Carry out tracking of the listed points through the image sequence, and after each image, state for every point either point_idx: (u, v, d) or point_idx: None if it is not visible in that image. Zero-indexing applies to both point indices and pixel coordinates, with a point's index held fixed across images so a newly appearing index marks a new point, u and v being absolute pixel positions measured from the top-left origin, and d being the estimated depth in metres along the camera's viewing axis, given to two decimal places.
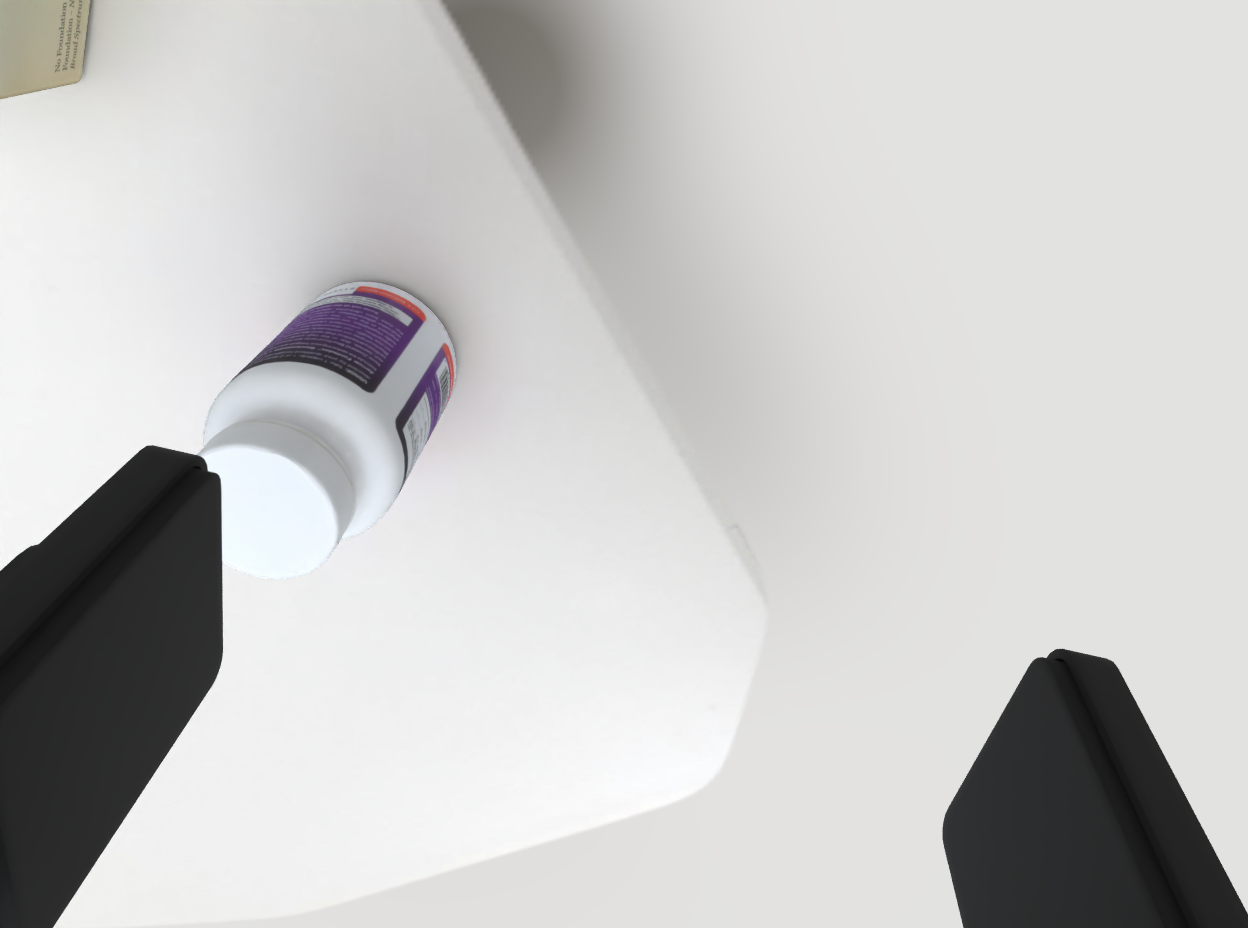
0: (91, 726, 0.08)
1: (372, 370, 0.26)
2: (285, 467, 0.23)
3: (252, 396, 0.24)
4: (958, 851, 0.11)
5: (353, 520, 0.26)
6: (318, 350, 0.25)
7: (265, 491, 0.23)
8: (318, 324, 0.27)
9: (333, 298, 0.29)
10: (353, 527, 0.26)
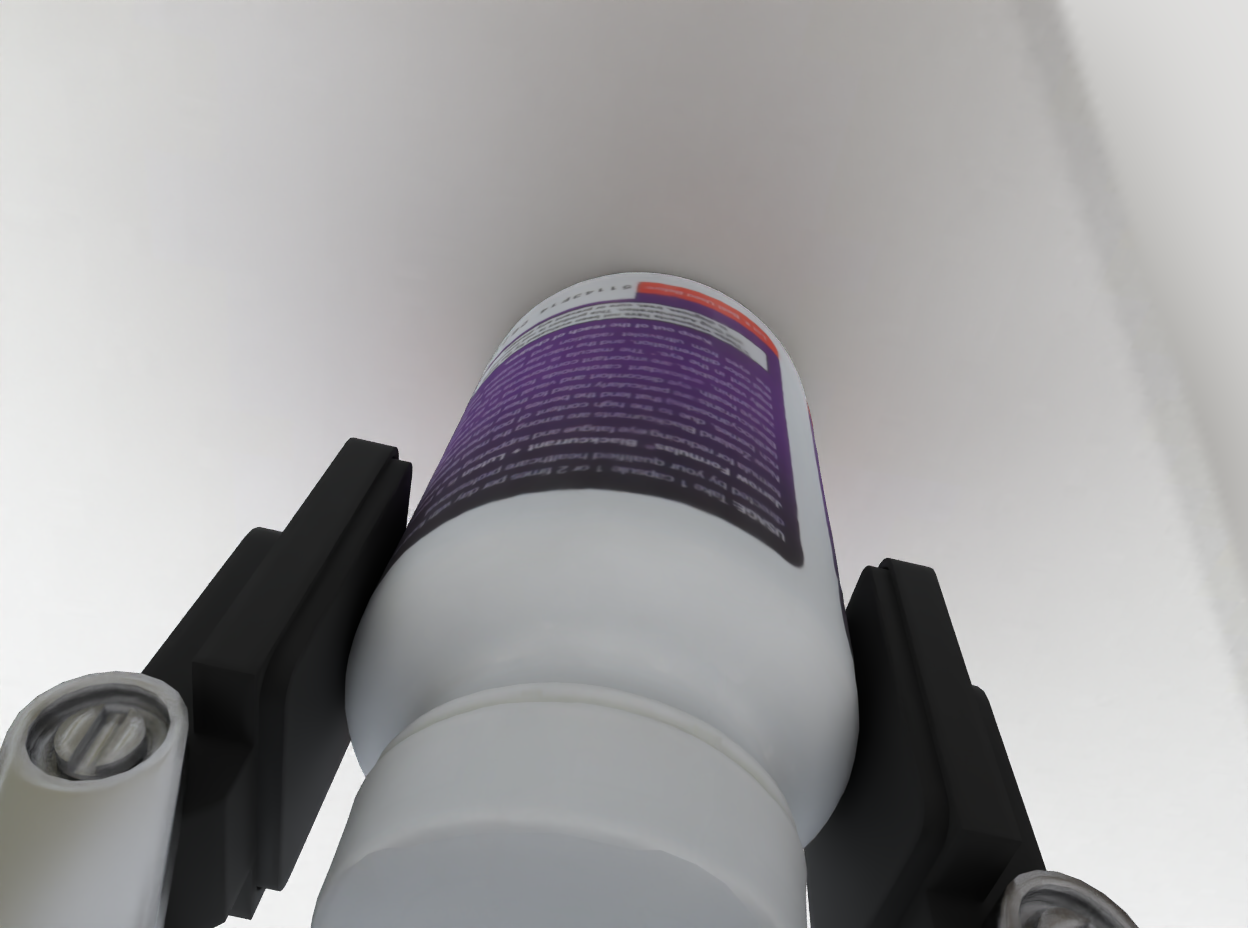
0: (330, 689, 0.09)
1: (776, 497, 0.10)
2: (680, 887, 0.07)
3: (507, 599, 0.08)
4: None
5: None
6: (648, 451, 0.10)
7: None
8: (604, 373, 0.11)
9: (597, 309, 0.13)
10: None
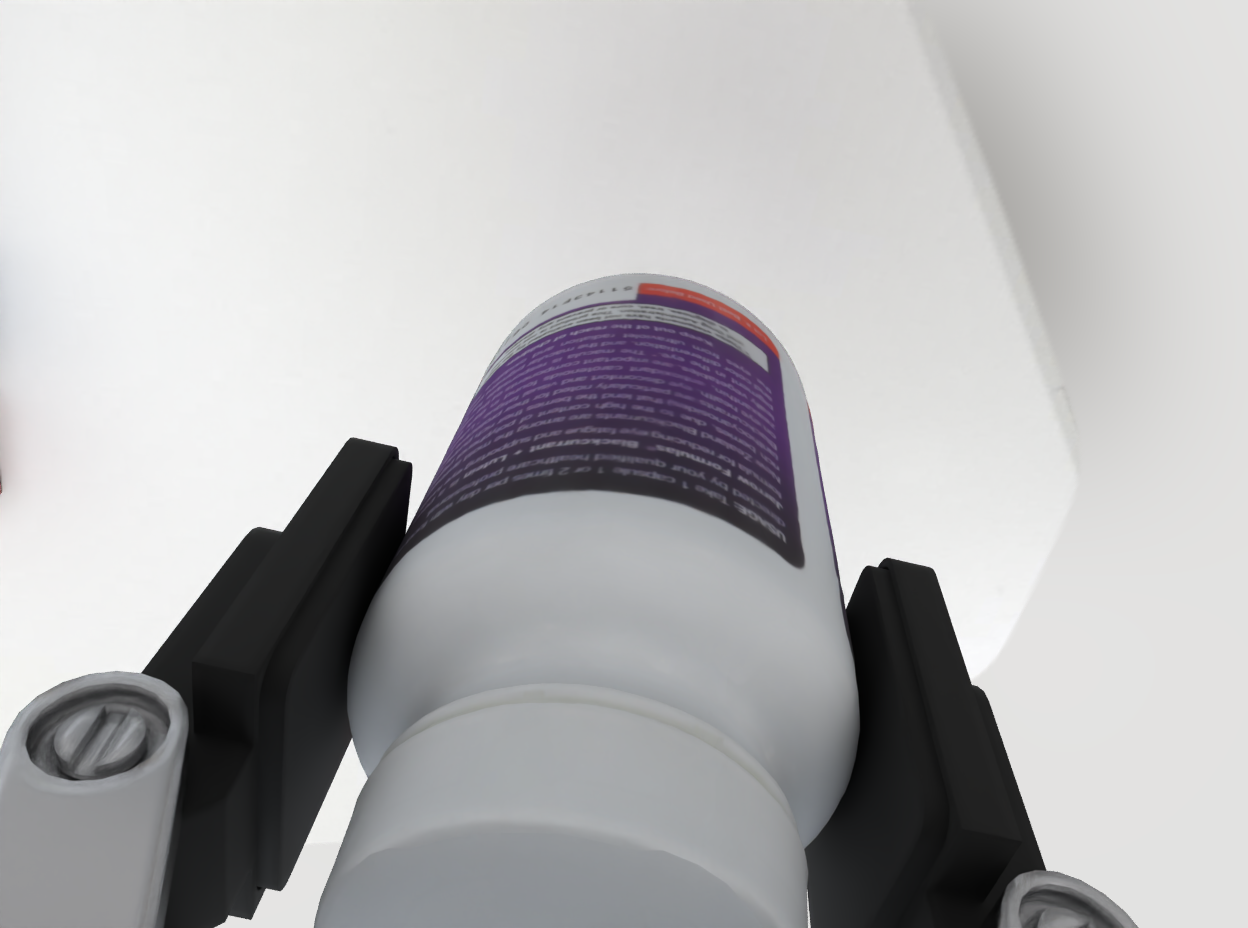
0: (329, 689, 0.09)
1: (777, 498, 0.10)
2: (682, 888, 0.07)
3: (510, 600, 0.08)
4: None
5: None
6: (649, 453, 0.10)
7: None
8: (606, 374, 0.11)
9: (598, 310, 0.13)
10: None
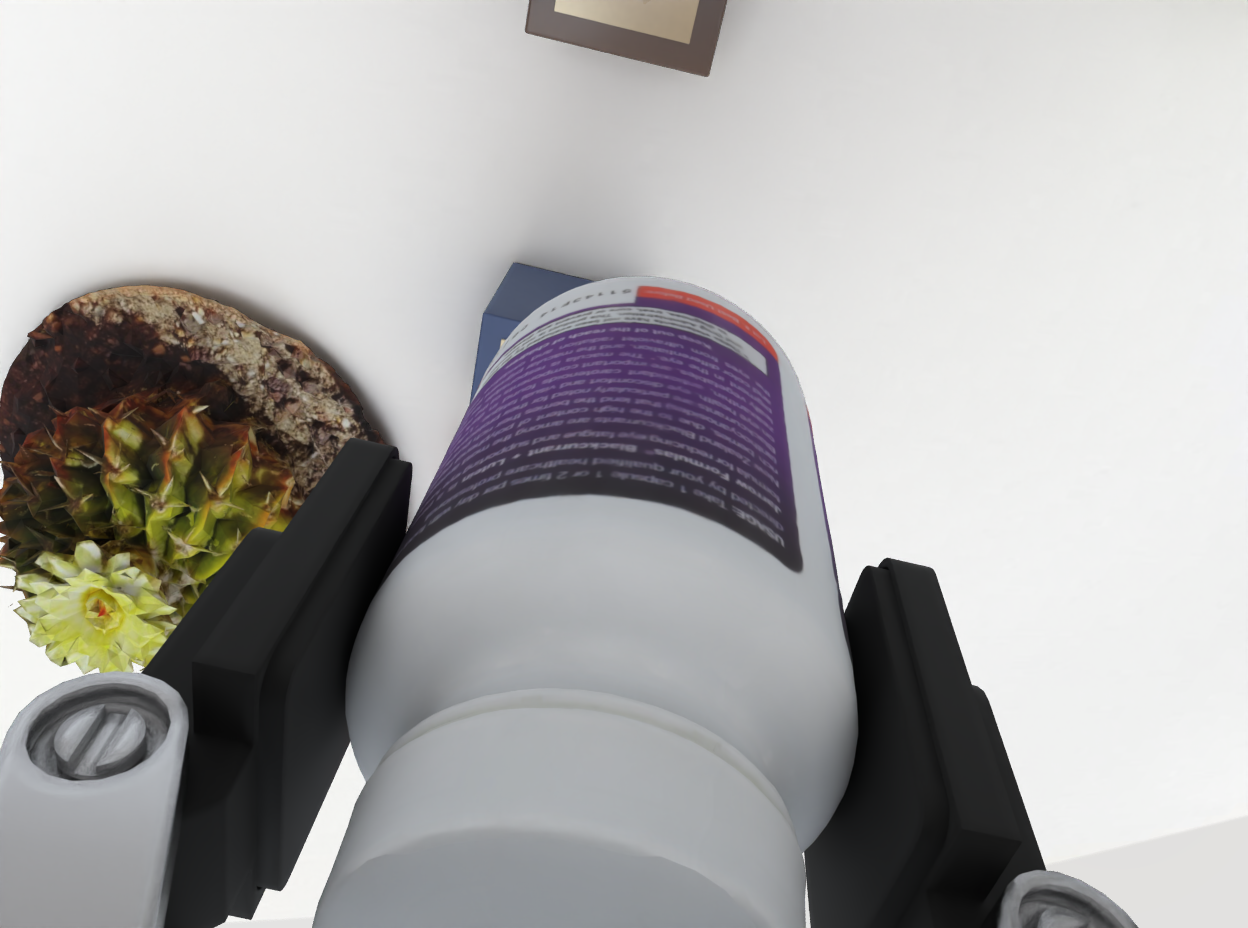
0: (330, 689, 0.09)
1: (776, 502, 0.10)
2: (679, 892, 0.07)
3: (507, 604, 0.08)
4: None
5: None
6: (648, 456, 0.10)
7: None
8: (604, 378, 0.11)
9: (597, 313, 0.13)
10: None
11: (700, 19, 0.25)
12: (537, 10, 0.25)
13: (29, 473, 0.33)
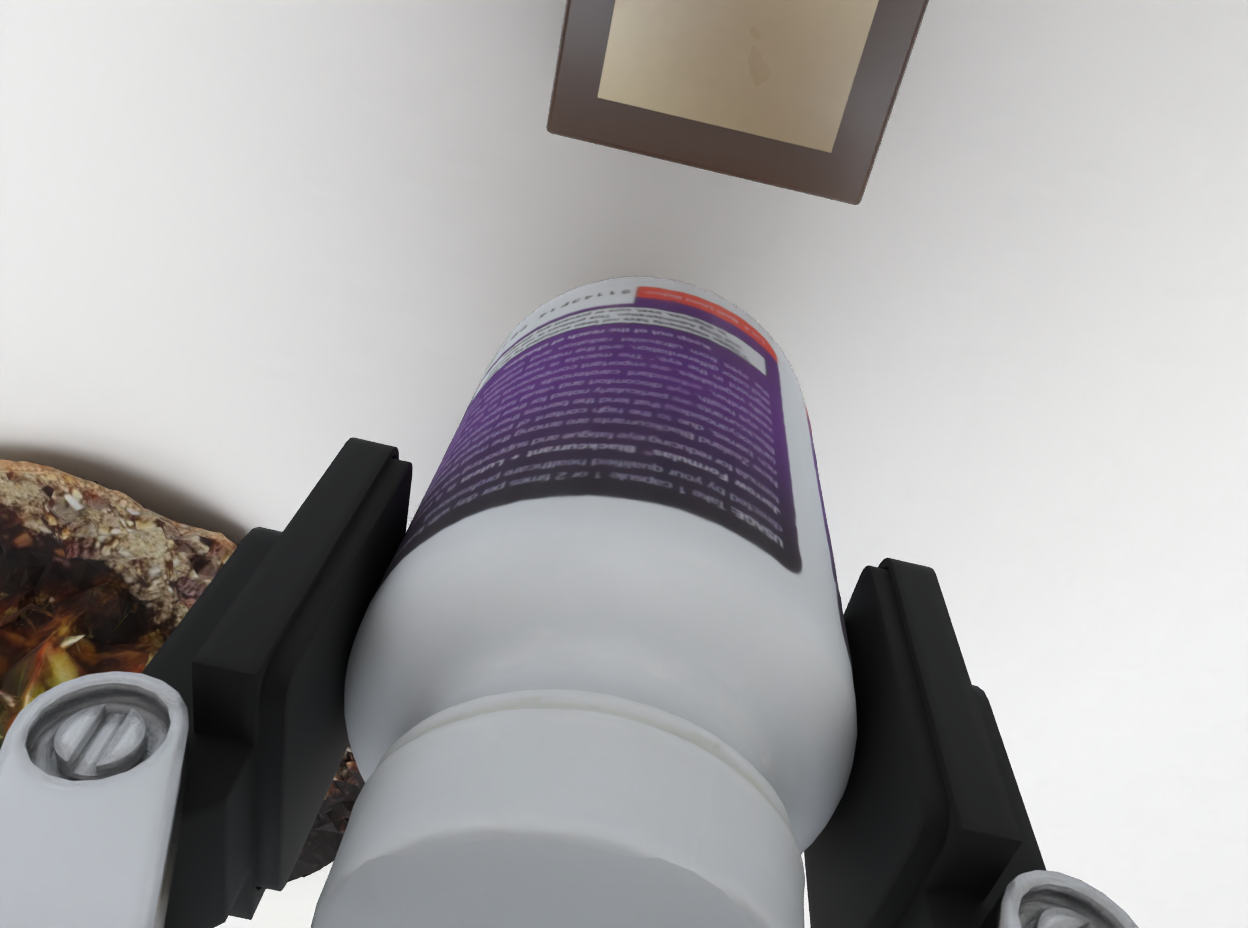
0: (330, 689, 0.09)
1: (774, 503, 0.10)
2: (677, 894, 0.07)
3: (506, 606, 0.08)
4: None
5: None
6: (647, 457, 0.10)
7: None
8: (603, 379, 0.11)
9: (596, 313, 0.13)
10: None
11: (853, 111, 0.14)
12: (568, 95, 0.14)
13: None
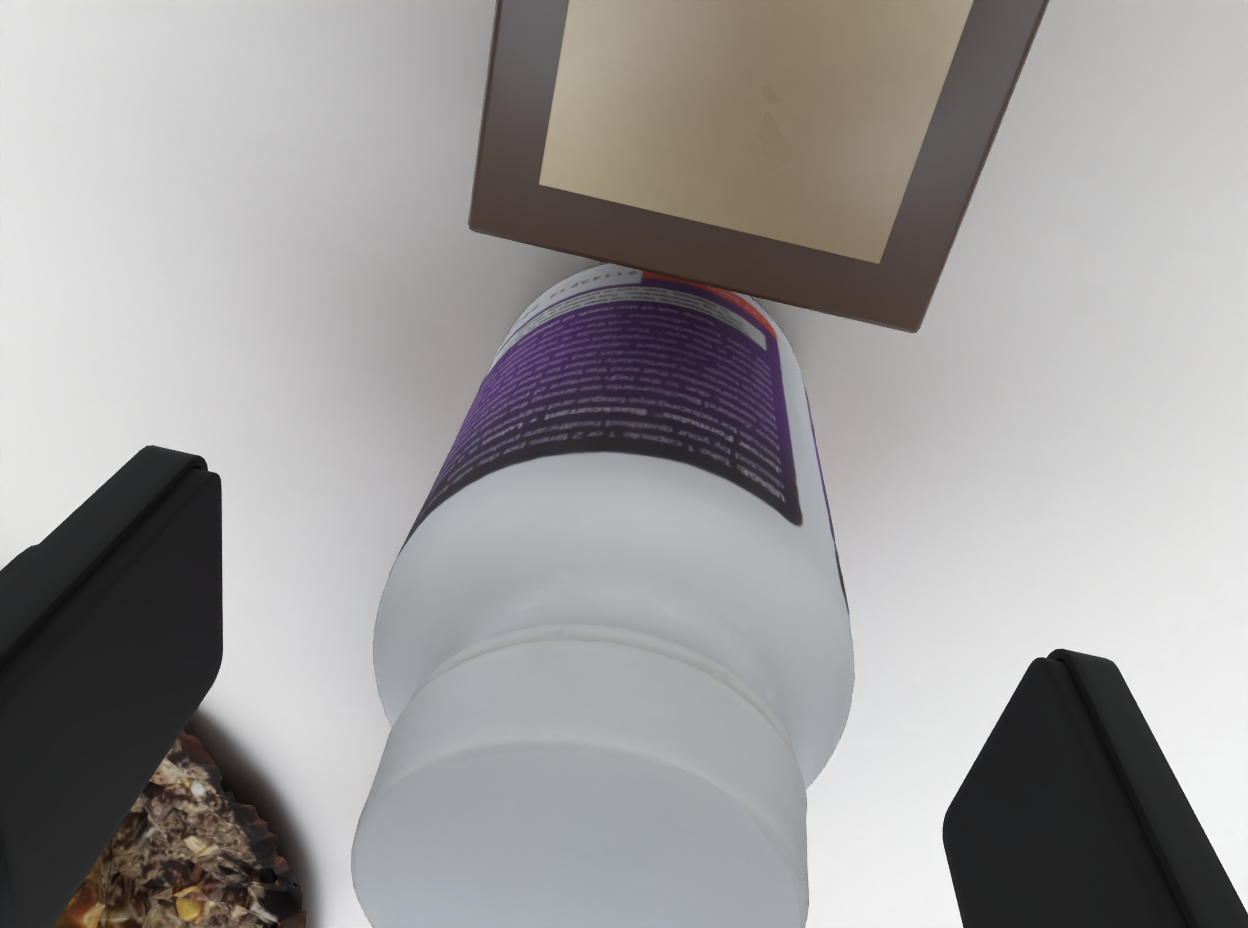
0: (91, 726, 0.08)
1: (776, 464, 0.11)
2: (692, 801, 0.07)
3: (529, 552, 0.09)
4: (958, 851, 0.11)
5: None
6: (657, 420, 0.10)
7: (612, 855, 0.08)
8: (614, 349, 0.12)
9: (604, 292, 0.14)
10: None
11: (913, 206, 0.10)
12: (497, 181, 0.10)
13: None
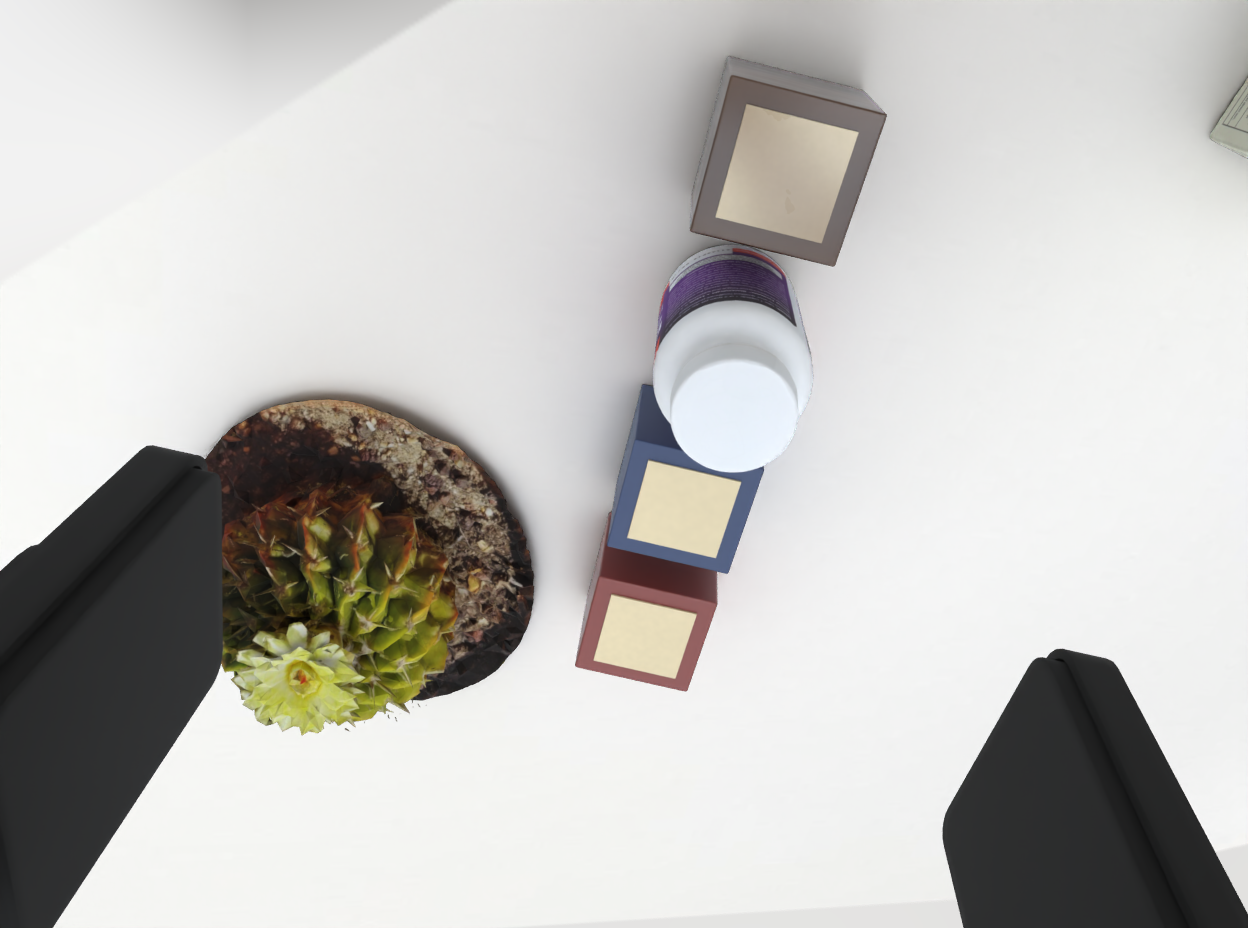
0: (91, 726, 0.08)
1: (788, 310, 0.32)
2: (768, 378, 0.29)
3: (716, 326, 0.31)
4: (958, 851, 0.11)
5: None
6: (750, 293, 0.32)
7: (746, 397, 0.29)
8: (729, 275, 0.33)
9: (719, 256, 0.35)
10: None
11: (831, 225, 0.31)
12: (701, 215, 0.31)
13: (235, 561, 0.39)
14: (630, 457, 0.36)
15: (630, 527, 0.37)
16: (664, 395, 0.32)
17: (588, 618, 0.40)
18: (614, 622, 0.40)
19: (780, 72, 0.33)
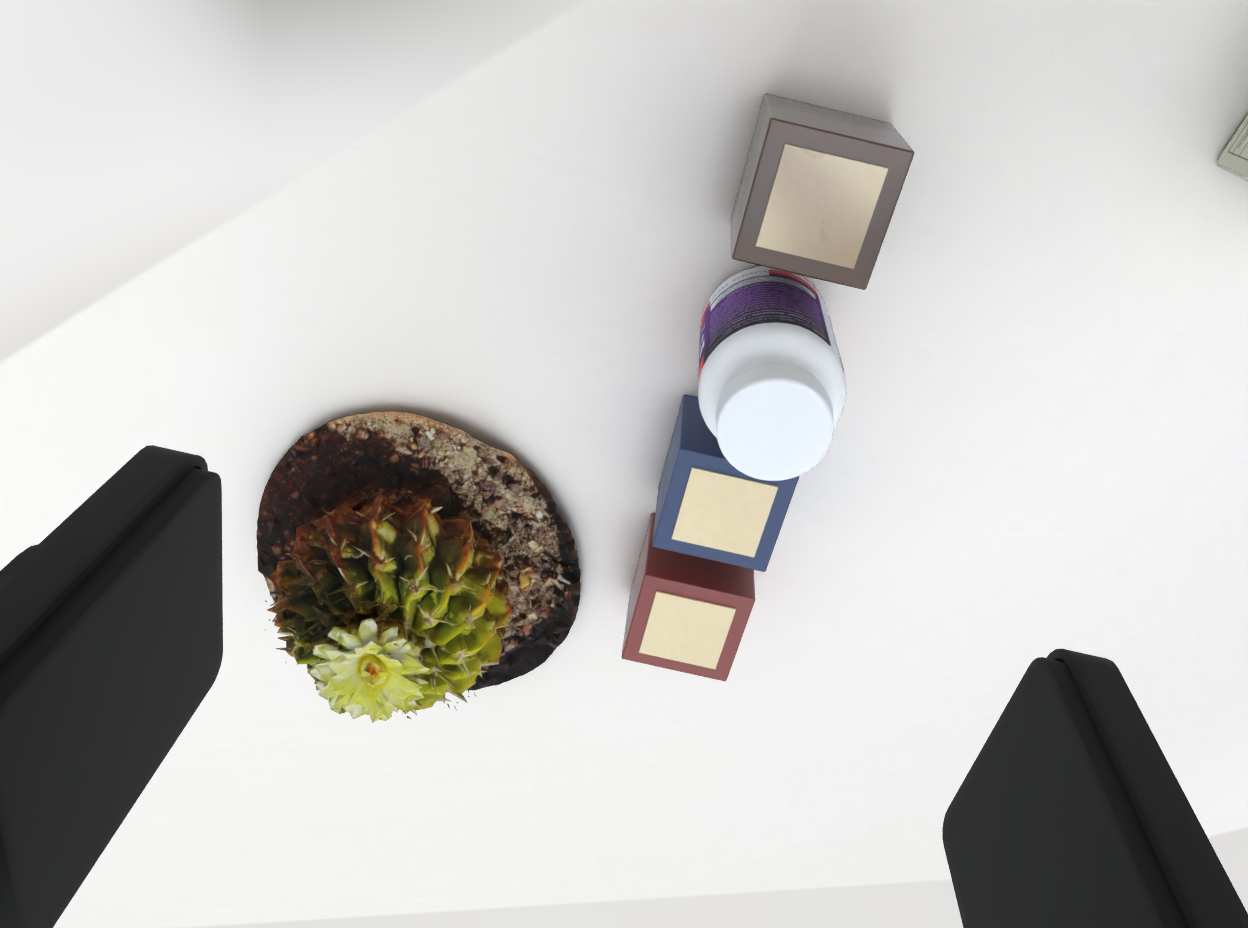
0: (91, 726, 0.08)
1: (822, 330, 0.35)
2: (807, 395, 0.32)
3: (757, 347, 0.33)
4: (958, 851, 0.11)
5: None
6: (787, 315, 0.34)
7: (786, 413, 0.32)
8: (767, 296, 0.36)
9: (757, 278, 0.38)
10: None
11: (863, 252, 0.34)
12: (742, 244, 0.34)
13: (308, 562, 0.42)
14: (675, 465, 0.39)
15: (674, 529, 0.40)
16: (709, 410, 0.35)
17: (634, 613, 0.43)
18: (659, 617, 0.43)
19: (814, 109, 0.35)
